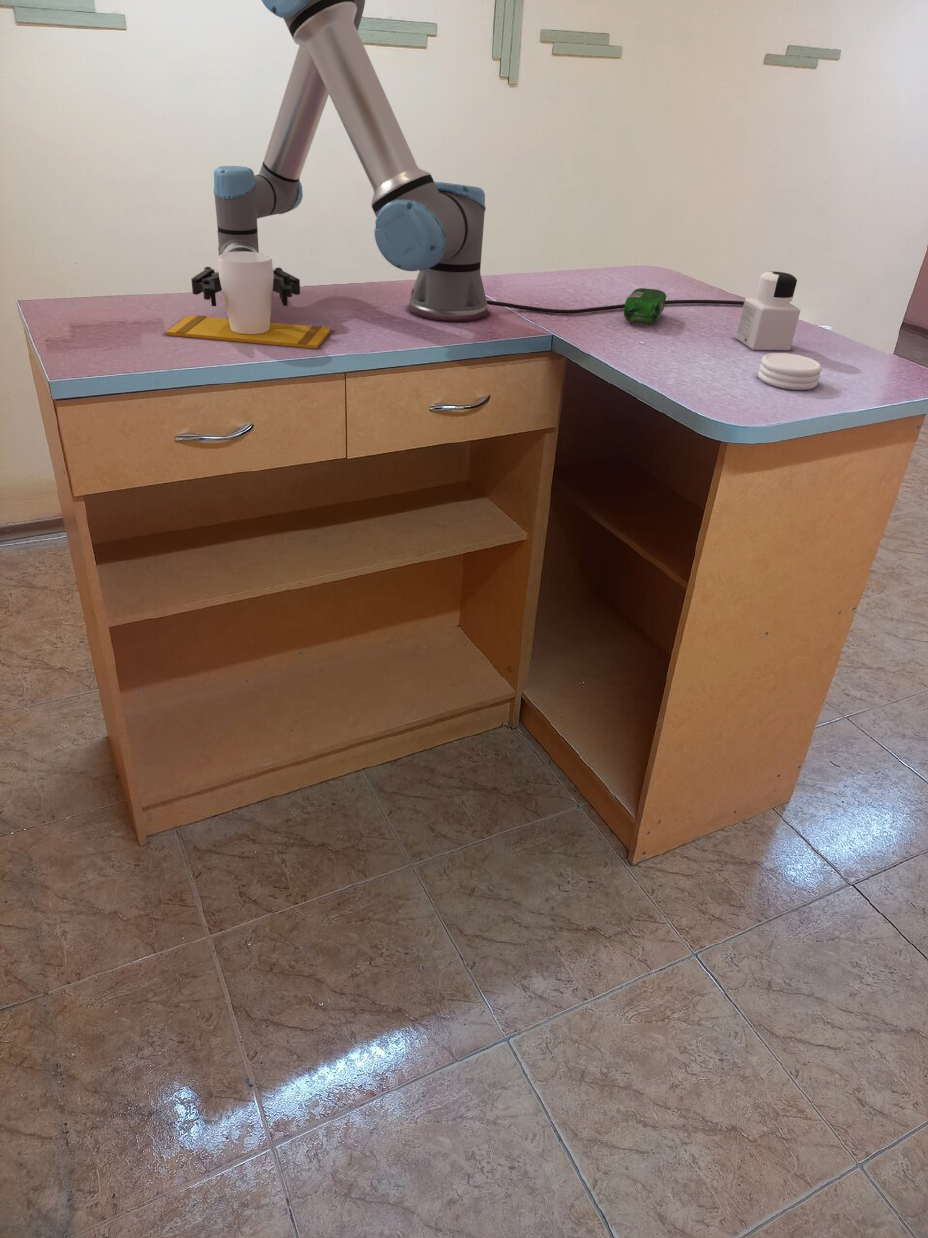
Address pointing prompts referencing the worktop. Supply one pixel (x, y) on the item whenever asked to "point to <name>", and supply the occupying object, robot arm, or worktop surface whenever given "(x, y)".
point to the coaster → (789, 371)
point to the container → (770, 314)
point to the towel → (273, 336)
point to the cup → (247, 290)
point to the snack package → (644, 305)
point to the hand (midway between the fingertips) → (249, 297)
